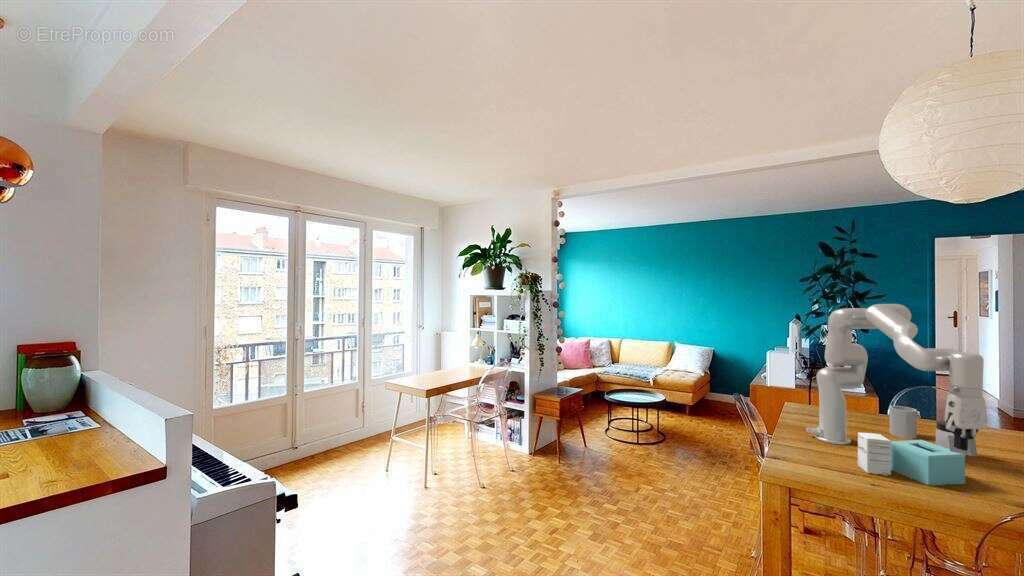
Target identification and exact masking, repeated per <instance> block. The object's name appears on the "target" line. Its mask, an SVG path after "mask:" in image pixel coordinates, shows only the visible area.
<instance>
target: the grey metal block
mask: <svg viewBox="0 0 1024 576" xmlns="http://www.w3.org/2000/svg"><path fill="white" fill-rule="evenodd" d="M948 439H949V446H950V451H951V452H956V453H960V454H965V455H966V456H970V457H975V456H978V451H977V444H976V443H977V442H976V439H975V438H974V439H971V438H967V445H966V450H961V449H958V448H955V447H954V435H948Z"/></svg>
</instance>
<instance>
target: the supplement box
mask: <svg viewBox="0 0 1024 576" xmlns="http://www.w3.org/2000/svg"><path fill="white" fill-rule="evenodd" d="M891 441H892V440H891V439H889V438H887V437H885V436H884V435H882V434H880V433H872V432H871V433H870V432H859V431H858V432H857V466H858V467H860V468H861V469H862V470H863V471H864V472H865V473H867V474H869V473H873V474H872V475H878V474H883V475H882V476H888V475H891V476H892V470H891Z"/></svg>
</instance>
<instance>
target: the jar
mask: <svg viewBox="0 0 1024 576" xmlns="http://www.w3.org/2000/svg"><path fill="white" fill-rule="evenodd" d="M946 425H947V424H946V423H945V420H937V421H936V428H935V444H936V445H939V446H942V447H945V448H948V449H950V446H949V439H948V435H953V434H952V432H951V431H950V430H948V429H946ZM959 431H960V429H959ZM966 456H967V455H965V457H966Z"/></svg>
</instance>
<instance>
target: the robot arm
mask: <svg viewBox="0 0 1024 576" xmlns="http://www.w3.org/2000/svg"><path fill="white" fill-rule="evenodd" d="M911 320H912V313H911V311H910V309H909V308H908V307H906V306H905V305H903V304H900V303H876V304H875V303H874V304H872V305H870V306H869V307H866V308H865V307H856V308H855V307H851V308H850V307H849V308H848V307H847V308H846V307H845V308H844V307H843V308H838V309H836V310H834V311H832V312H831V313H830V315H829V317H828V319H827V325H828V326H827V329H828V331H827V337H826V338H827V339H826V343H825V349H824V361H825V362H826V363H827V364H828V365H831V366H829V367H823V368H821V369H819V370H818V371H817V373H816V377H815V378H816V382H817V387H818V397H819V398H818V401H819V402H818V403H819V404H818V405H819V406H818V410H819V413H818V414H819V415H818V416H819V417H818V419H819V421H818V422H819V425H817V426H816V427H813V428H812V427H806V430H805V431H806V432H807V433H811V434H814V437H815V438H816V439H817V440H819V441H821V442H824V443H828V444H834V445H850V444H851V443H852V440H851V439H850V437H847V400H846V397H845V395H844V393H843V391H842V390H857V389H858V388H861V387H862V385H863V383H864V381H865V377H866V370H867V366H868V361H869V360H868V359H869V357H868V356H869V355H868V353H867V350H866V349H865V347H864V346H863V345H861V344H858V343H852V342H853V333H852V330H851V329H854V330H856V329H857V330H858V329H860V330H863V329H864V330H869V329H870V330H874V329H878V330H879V331H880V332H882V333H883V334H885V336H887V337H888V338H890V339H891V340H892V341H893V347H894V350H895V352H896V353H897V355H898V356H899V357H900V358H901V359H902V360H904V361H905V362H906V363H907V364H909V365H911V366H912V367H913V368H915V369H917V370H919V371H924V372H948V373H949V375H948V395H947V397H946V402H945V403H946V404H945V409H944V421H945V423H946V424H947V425H946V429H948V430H950V431H951V432H952V434H953V435H954V447H955V448H958V449H961V450H966V445H967V438H971V439H975V438H976V437H977V433H978V432H979V431H981V430H984V429H985V428H986V427H987V426H988V415H987V414H988V413H987V403H986V400H985V397H983V395H984V394H983V393H984V392H983V391H984V357H983V356H982V355H981V354H978V353H974V352H965V351H964V352H963V351H959V350H957V349H953V348H945V347H943V348H942V347H940V348H939V347H938V348H937V347H936V348H935V347H934V348H931V347H930V348H929V347H928V348H925V347H922V346H921V345H920V344H918V343H917V342H915V340H913V339H914V337H916V336H917V334H918V331H919V329H918V327H917V325H916V324H915V323H913V322H911ZM959 429H960V431H959Z"/></svg>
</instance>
